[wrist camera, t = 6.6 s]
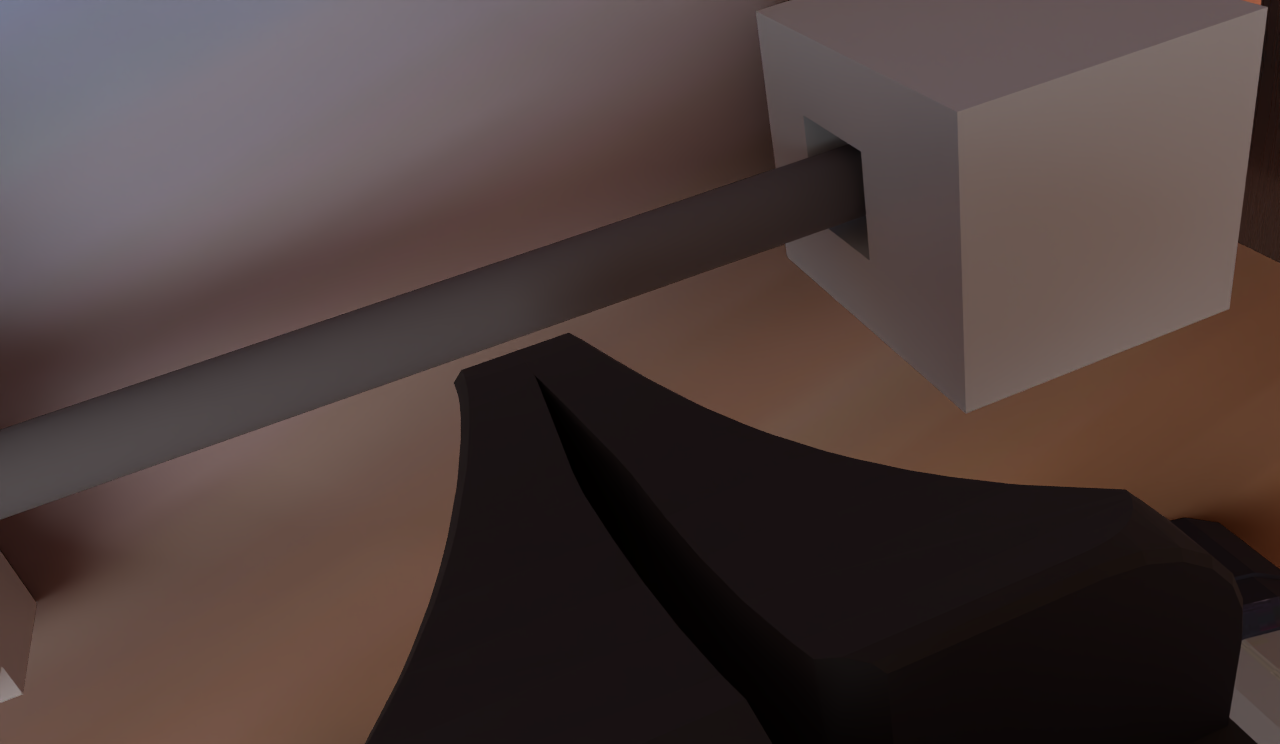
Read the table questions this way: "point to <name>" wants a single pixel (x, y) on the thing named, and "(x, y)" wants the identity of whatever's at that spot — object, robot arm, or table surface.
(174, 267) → the table surface
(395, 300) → the dark grey rod
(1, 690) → the cable comb
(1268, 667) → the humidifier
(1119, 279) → the grey slotted cube
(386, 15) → the table surface
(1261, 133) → the block
